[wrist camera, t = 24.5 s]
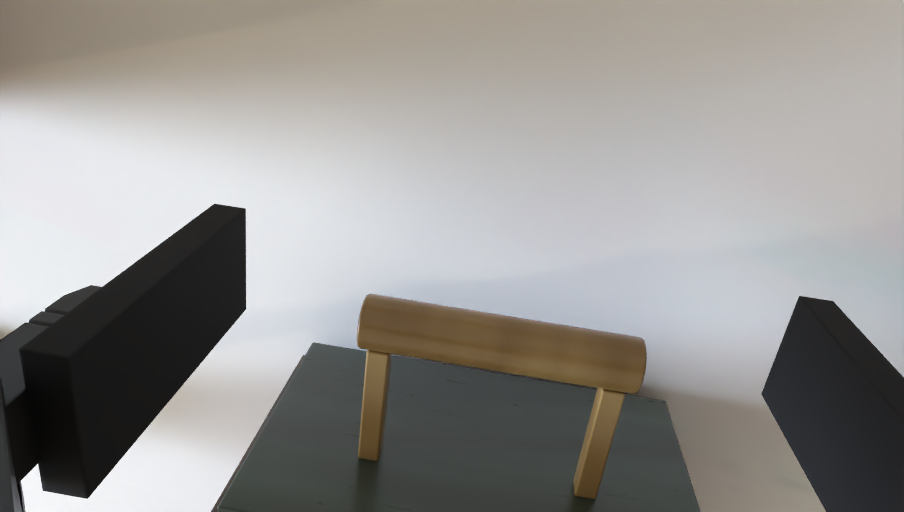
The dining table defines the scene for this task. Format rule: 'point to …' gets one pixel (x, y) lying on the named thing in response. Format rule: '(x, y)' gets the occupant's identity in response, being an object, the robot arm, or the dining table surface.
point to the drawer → (465, 422)
